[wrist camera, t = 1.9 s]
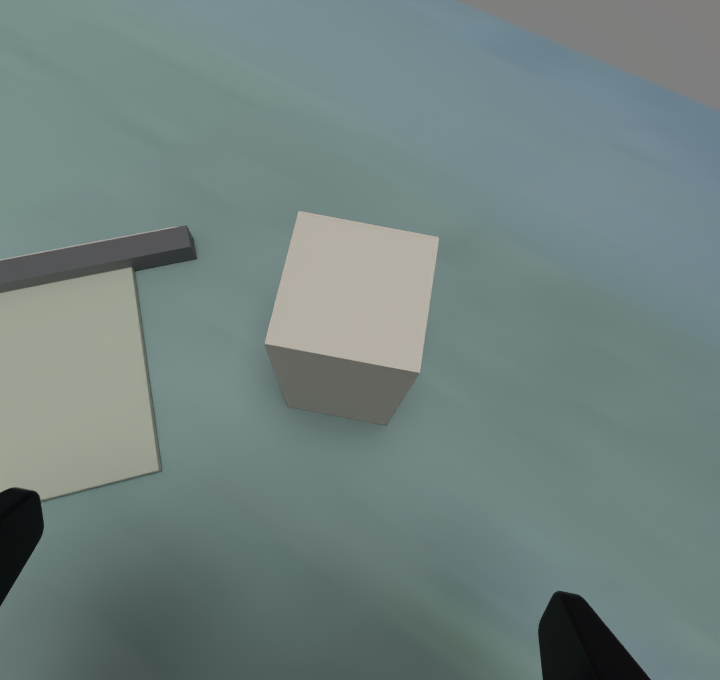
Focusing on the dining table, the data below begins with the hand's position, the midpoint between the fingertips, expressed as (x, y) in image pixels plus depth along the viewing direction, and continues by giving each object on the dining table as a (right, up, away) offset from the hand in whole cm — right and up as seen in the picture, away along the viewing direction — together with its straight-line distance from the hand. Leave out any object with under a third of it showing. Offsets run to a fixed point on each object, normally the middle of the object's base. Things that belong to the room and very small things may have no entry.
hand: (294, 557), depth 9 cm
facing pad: (-14, +2, +14) cm, 20 cm away
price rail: (-15, +7, +16) cm, 23 cm away
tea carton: (0, +2, +15) cm, 15 cm away
